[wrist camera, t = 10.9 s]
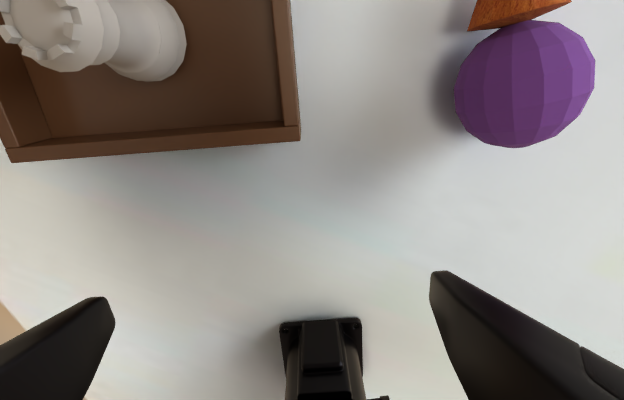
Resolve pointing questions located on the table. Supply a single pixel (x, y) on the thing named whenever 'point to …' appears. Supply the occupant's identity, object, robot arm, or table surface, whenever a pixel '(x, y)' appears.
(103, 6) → the rook chess piece
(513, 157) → the table surface
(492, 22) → the kendama
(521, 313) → the robot arm
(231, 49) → the tray
